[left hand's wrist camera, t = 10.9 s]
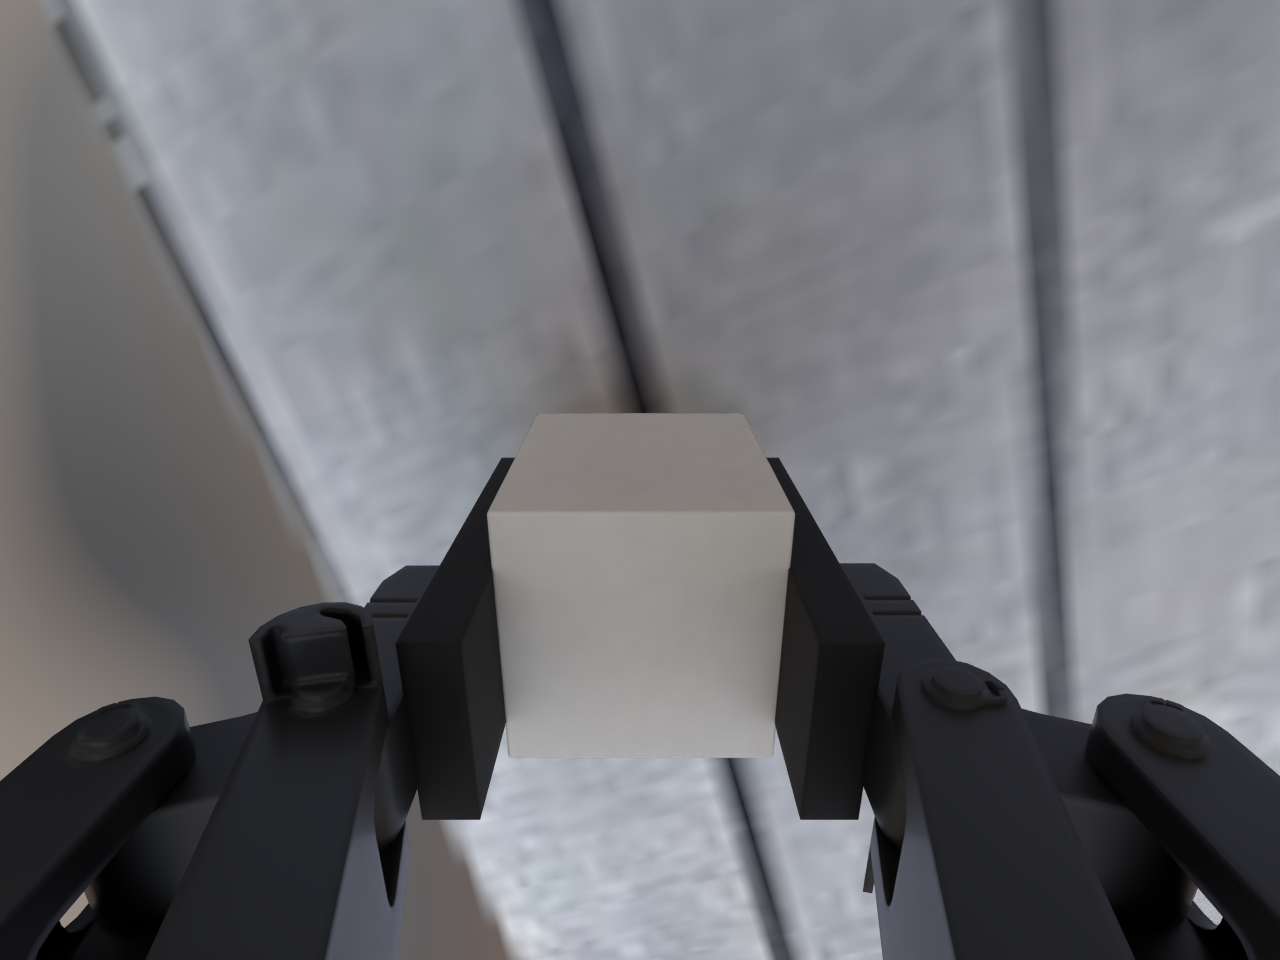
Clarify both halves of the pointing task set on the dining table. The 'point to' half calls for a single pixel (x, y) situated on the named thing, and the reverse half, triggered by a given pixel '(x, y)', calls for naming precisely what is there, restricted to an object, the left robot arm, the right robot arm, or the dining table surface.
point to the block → (640, 587)
